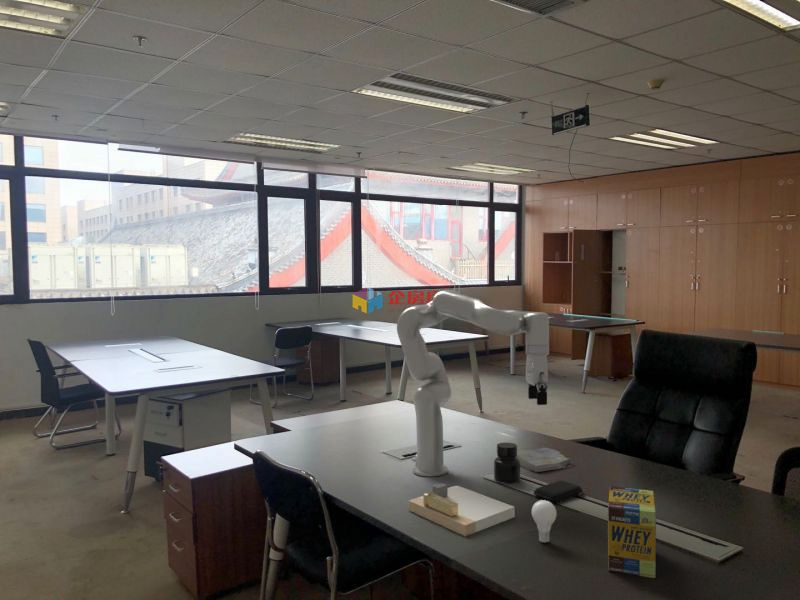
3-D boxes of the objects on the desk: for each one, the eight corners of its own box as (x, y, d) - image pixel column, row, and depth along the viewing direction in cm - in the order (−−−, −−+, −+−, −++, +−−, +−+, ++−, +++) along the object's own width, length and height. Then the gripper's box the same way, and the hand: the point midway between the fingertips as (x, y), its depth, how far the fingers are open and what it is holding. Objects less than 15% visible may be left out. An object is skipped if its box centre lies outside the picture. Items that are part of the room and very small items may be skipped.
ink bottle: (524, 477, 207) (524, 443, 207) (518, 485, 199) (517, 450, 199) (496, 474, 211) (496, 440, 211) (489, 481, 203) (489, 447, 203)
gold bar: (421, 503, 175) (421, 493, 175) (429, 501, 177) (429, 491, 177) (450, 516, 165) (450, 506, 165) (459, 513, 167) (458, 503, 167)
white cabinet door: (408, 510, 179) (408, 488, 179) (456, 494, 192) (456, 474, 192) (465, 536, 161) (464, 512, 160) (514, 517, 173) (514, 494, 173)
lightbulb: (528, 537, 159) (528, 496, 159) (551, 536, 160) (551, 495, 159) (536, 548, 153) (535, 505, 152) (560, 547, 153) (560, 504, 153)
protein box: (607, 571, 140) (607, 506, 140) (609, 544, 155) (609, 485, 154) (656, 579, 136) (656, 512, 136) (653, 550, 151) (653, 489, 150)
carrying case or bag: (558, 507, 181) (588, 496, 190) (558, 497, 181) (588, 486, 190) (531, 497, 190) (560, 487, 198) (531, 487, 189) (560, 478, 198)
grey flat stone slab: (578, 468, 220) (548, 453, 236) (579, 456, 220) (548, 442, 235) (535, 478, 212) (506, 462, 227) (535, 466, 211) (506, 450, 227)
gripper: (519, 347, 205) (519, 396, 206) (533, 353, 188) (533, 407, 188) (540, 346, 206) (540, 396, 206) (557, 352, 188) (557, 406, 189)
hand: (537, 401), depth 197 cm, fingers open, 9 cm apart
